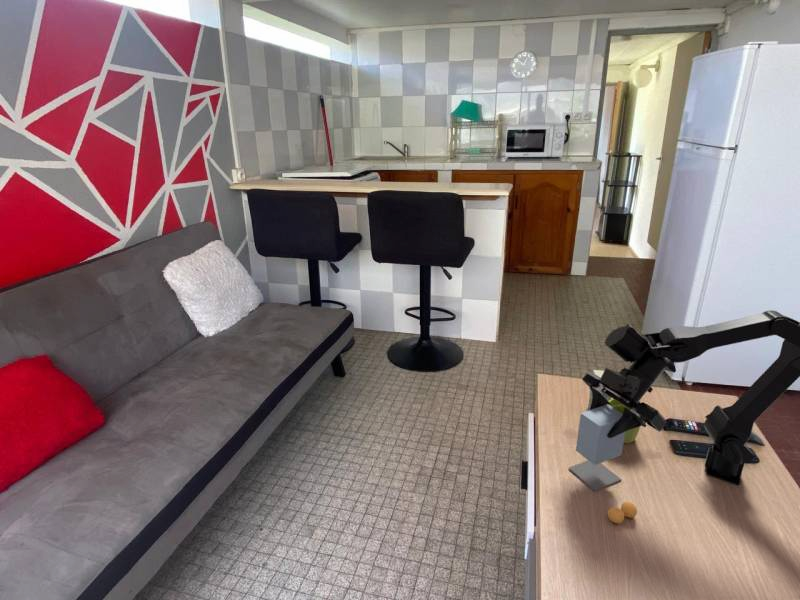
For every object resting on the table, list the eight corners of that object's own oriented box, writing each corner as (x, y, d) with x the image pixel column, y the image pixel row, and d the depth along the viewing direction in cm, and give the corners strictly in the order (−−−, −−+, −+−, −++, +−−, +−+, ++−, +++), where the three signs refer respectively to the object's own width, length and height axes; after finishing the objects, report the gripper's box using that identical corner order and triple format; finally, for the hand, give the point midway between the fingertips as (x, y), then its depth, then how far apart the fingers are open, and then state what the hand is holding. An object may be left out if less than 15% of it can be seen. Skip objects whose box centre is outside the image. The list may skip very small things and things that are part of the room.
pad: (594, 459, 112) (594, 458, 112) (621, 480, 105) (621, 479, 105) (568, 468, 109) (568, 467, 109) (594, 491, 102) (594, 490, 102)
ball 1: (624, 519, 95) (626, 508, 94) (621, 529, 93) (623, 517, 92) (609, 513, 97) (611, 501, 96) (605, 522, 94) (607, 510, 93)
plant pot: (636, 427, 124) (641, 399, 121) (647, 449, 115) (653, 420, 112) (599, 424, 126) (603, 396, 123) (607, 446, 117) (612, 416, 114)
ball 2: (637, 513, 96) (639, 502, 95) (634, 523, 94) (636, 511, 93) (621, 507, 98) (623, 496, 97) (618, 516, 96) (620, 505, 95)
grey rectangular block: (601, 440, 109) (607, 404, 106) (621, 455, 104) (628, 417, 101) (575, 450, 106) (580, 413, 103) (594, 465, 101) (600, 426, 98)
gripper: (593, 340, 107) (550, 393, 106) (666, 376, 91) (616, 439, 90) (613, 363, 112) (573, 413, 112) (685, 401, 96) (639, 460, 96)
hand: (597, 429), depth 102 cm, fingers closed on grey rectangular block, 6 cm apart
